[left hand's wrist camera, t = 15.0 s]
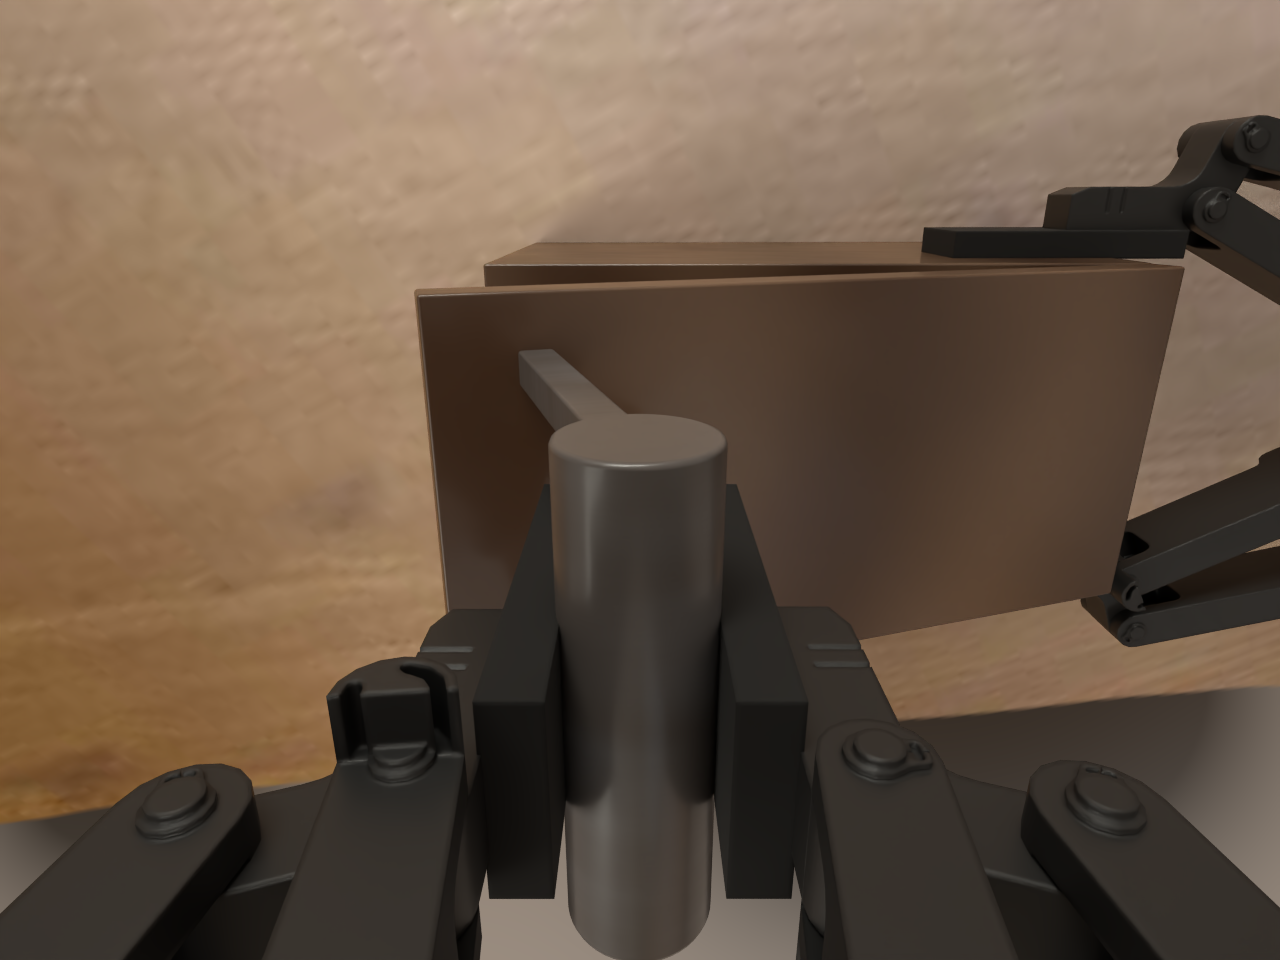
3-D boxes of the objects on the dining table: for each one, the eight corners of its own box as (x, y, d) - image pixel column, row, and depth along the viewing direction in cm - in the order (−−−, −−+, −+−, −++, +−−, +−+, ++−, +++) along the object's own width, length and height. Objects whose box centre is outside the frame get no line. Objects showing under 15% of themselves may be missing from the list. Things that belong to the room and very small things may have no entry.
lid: (453, 689, 18) (510, 1059, 10) (413, 288, 15) (453, 387, 7) (1081, 578, 23) (1434, 768, 16) (1149, 263, 20) (1631, 305, 12)
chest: (545, 467, 33) (504, 575, 24) (535, 242, 30) (483, 264, 21) (960, 467, 33) (1085, 576, 24) (993, 241, 30) (1153, 263, 20)
